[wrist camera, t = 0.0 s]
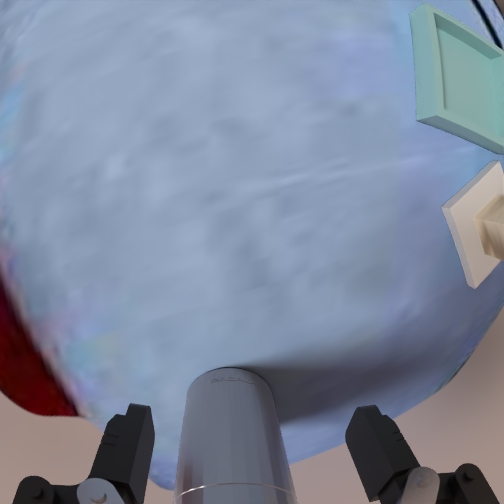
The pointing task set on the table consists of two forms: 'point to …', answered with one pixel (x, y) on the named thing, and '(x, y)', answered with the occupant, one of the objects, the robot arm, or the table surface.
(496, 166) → the white board
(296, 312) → the table surface
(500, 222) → the birch block
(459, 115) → the tray
